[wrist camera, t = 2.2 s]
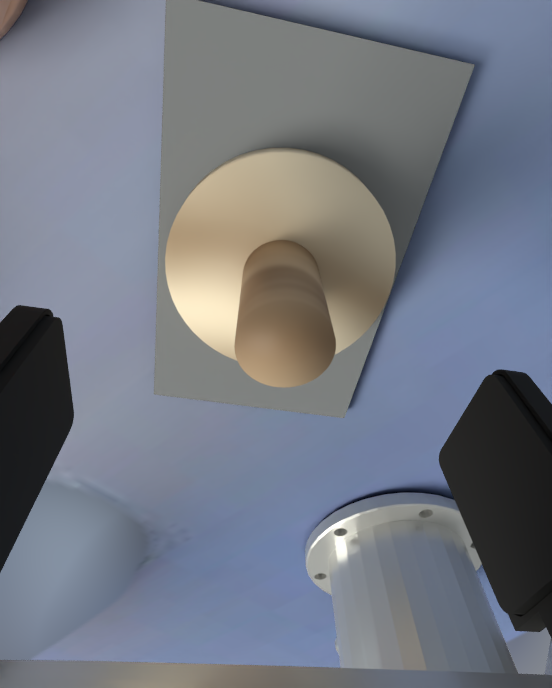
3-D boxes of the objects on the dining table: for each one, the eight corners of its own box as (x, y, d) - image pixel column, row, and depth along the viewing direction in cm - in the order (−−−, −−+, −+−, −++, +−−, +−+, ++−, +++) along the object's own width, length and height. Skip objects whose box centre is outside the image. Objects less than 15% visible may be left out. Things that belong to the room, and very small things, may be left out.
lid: (353, 364, 21) (382, 465, 15) (166, 338, 20) (130, 437, 14) (421, 172, 16) (496, 226, 11) (177, 124, 15) (127, 157, 9)
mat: (342, 410, 23) (344, 418, 22) (156, 386, 22) (153, 394, 21) (467, 64, 14) (474, 64, 14) (170, -5, 13) (166, -8, 13)
